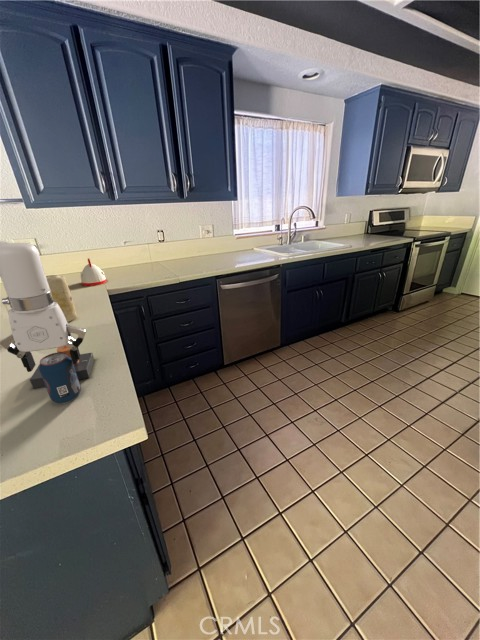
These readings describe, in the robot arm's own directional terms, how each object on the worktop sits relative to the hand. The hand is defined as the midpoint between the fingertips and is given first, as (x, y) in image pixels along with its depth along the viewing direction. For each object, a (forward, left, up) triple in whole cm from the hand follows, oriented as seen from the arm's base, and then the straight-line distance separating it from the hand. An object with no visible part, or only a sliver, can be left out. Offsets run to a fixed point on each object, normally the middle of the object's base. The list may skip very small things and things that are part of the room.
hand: (54, 365), depth 66 cm
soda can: (0, 0, -10) cm, 10 cm away
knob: (-1, +12, -7) cm, 14 cm away
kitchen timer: (-10, +117, -10) cm, 118 cm away
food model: (-13, +56, -10) cm, 58 cm away
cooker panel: (-3, +12, -10) cm, 16 cm away
